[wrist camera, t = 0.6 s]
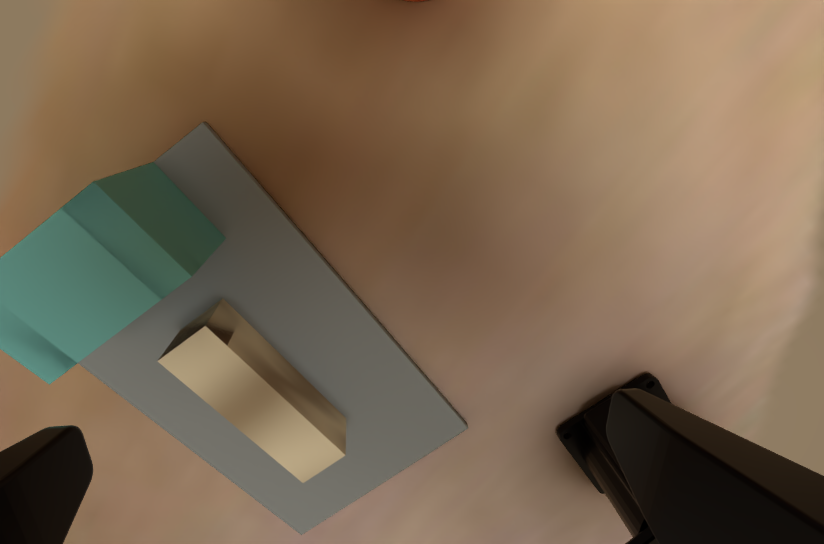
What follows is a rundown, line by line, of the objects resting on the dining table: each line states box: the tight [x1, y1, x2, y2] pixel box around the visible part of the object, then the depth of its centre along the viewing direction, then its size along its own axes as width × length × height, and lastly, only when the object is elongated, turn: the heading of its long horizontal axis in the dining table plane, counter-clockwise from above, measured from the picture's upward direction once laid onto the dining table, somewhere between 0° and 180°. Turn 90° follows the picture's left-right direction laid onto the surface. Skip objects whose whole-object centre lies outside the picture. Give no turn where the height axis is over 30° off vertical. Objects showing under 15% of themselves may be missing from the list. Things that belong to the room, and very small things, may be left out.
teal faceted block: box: [0, 162, 226, 384], centre depth 17 cm, size 4×7×4 cm, turn 125°
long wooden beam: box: [158, 299, 346, 483], centre depth 21 cm, size 9×3×3 cm, turn 35°
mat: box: [78, 122, 468, 535], centre depth 22 cm, size 20×12×1 cm, turn 35°
